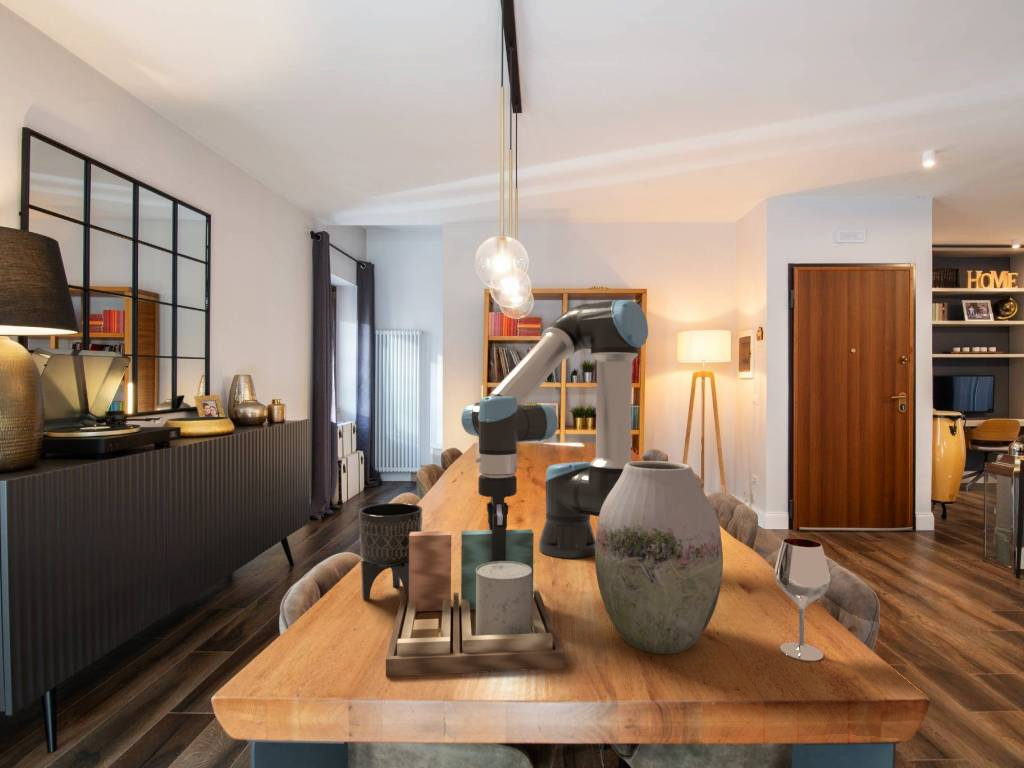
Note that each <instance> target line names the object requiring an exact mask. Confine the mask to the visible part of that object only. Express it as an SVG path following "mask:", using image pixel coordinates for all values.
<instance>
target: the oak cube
mask: <svg viewBox="0 0 1024 768" xmlns="http://www.w3.org/2000/svg"><path fill="white" fill-rule="evenodd" d="M434 637H439V618H428V619H427V618H425V619H423V618H422V619H415V621H414V626H413V636H412V638H434Z"/></svg>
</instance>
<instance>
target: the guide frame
mask: <svg viewBox="0 0 1024 768" xmlns="http://www.w3.org/2000/svg"><path fill="white" fill-rule="evenodd" d="M459 598H460V595H459V592H453V601H452V602H453V604H452V605H453V609H452V611H453V615H452V616H453V617H452V618H453V620H452V622H453V623H452V624H453V625H452V632H453V633H452V638H453V639H452V653H450V654H430V655H404V656H397V641H398V639H401V635H402V631H403V626H404V621H405V616H406V612H407V607H408V601H407V594H404V593H402V594H401V597H400V601H399V604H398V605H399V606H398V609H397V614H396V617H395V621H394V626H393V630H392V632H391V638H390V641H389V646H388V649H387V653H386V658H385V677H392V676H394V677H396V676H419V675H422V676H423V675H439V674H440V675H443V674H463V673H465V674H466V673H467V674H468V673H487V672H489V673H490V672H509V671H515V672H516V671H533V670H537V671H538V670H554V669H555V670H557V669H564V668H565V666H564V665H565V653H564V650H563V649H564V648H563V646H562V644H561V642H560V639H559V637H558V634H557V631H556V629H555V626H554V625H553V622H552V620H551V617H550V614H549V611H548V610H547V607H546V605H545V602H544V599H543V597H542V595H541V592H540V590H539V589H536V590H535V589H533V598H534V601H535V604H536V606H537V609H538V612H539V614H540V617H541V620H542V623H543V625H544V628H545V631H546V633H551V634H552V637H553V650H531V651H505V652H480V653H462V652H460V650H461V649H460V605H459V603H460V599H459Z"/></svg>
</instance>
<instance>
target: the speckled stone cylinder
mask: <svg viewBox="0 0 1024 768" xmlns="http://www.w3.org/2000/svg"><path fill="white" fill-rule="evenodd" d="M531 573H532V569H531V567H529V566H528V565H526V564H523V563H519V562H512V561H496V562H489V563H485V564H482V565H480V566H478V567H477V568H476V609H475V636H479V635H506V634H532V627H531Z"/></svg>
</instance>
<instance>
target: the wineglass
mask: <svg viewBox="0 0 1024 768" xmlns="http://www.w3.org/2000/svg"><path fill="white" fill-rule="evenodd" d="M774 566H775V567H774V578H775V581H776V583H777V585H778V586H779V588H780V589H781V590H782V592H783V593H785V595H787V596H788V598H790V599H791V601H793V602H794V603H795V605H796V606H797V608H798V642H797V641H796V642H793V641H792V642H791V641H789V642H783V643H782V644H781V645H780V646H779V649H780V651H781V652H782V653H783V654H784V655H785V656H787V657H790V658H792V659H794V660H798V661H804V662H818V661H821V660H823V659H824V653H823V652H822V651H821V650H820V649H818V648H817V647H815V646H812V645H809V644H807V643H805V642H806V641H805V611H806V608H807V607H808V606H809V605H810V604H813V603H814V602H815V601H816V600H819V599H820V598H821V597H823V596H824V595H825V594H826V592H827V591H828V590H829V588H830V586H831V575H830V571H829V570H830V569H829V566H828V562H827V557H826V555H825V552H824V547H823V545H822V543H821V542H819V541H815V540H812V539H809V538H808V539H806V538H799V537H798V538H797V537H795V538H794V537H789V538H787V537H786V538H784V539H783V540H782V541H781V546H780V549H779V552H778V555H777V559H776V563H775V565H774Z"/></svg>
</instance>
